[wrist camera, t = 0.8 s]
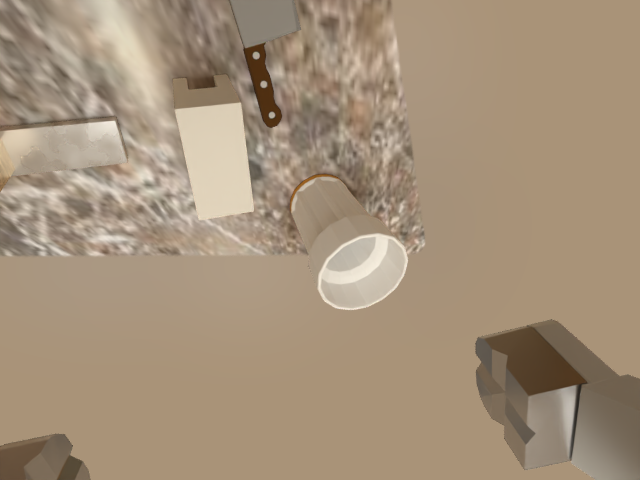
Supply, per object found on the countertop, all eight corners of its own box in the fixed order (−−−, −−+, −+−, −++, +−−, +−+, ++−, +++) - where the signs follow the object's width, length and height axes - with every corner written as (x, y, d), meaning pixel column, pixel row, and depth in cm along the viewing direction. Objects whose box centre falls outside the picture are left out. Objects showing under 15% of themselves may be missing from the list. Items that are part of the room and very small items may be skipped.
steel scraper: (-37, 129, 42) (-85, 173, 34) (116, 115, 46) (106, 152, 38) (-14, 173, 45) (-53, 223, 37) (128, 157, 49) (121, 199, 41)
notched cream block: (172, 78, 45) (174, 109, 37) (226, 74, 47) (240, 102, 38) (194, 182, 53) (200, 227, 44) (240, 175, 54) (254, 218, 46)
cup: (364, 170, 60) (422, 235, 46) (343, 234, 66) (390, 309, 52) (290, 162, 56) (331, 231, 42) (275, 232, 61) (307, 312, 48)
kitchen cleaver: (325, 110, 52) (251, 134, 51) (322, 108, 53) (249, 131, 52) (279, -144, 38) (173, -123, 36) (276, -142, 38) (172, -121, 37)
